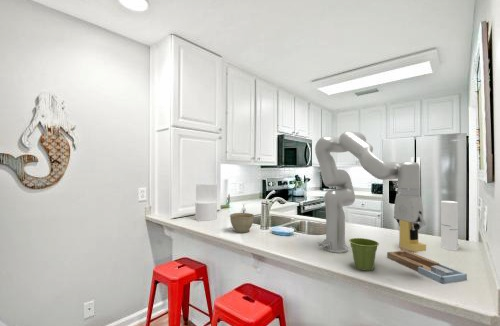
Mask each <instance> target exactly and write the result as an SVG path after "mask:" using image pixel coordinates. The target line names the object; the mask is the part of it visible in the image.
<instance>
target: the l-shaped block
mask: <svg viewBox="0 0 500 326" xmlns="http://www.w3.org/2000/svg"><path fill="white" fill-rule="evenodd" d="M414 225H415V223H414ZM410 230H412V229H411V223H410V222H407V221H403V220H400V246H401V247H404V248H407V249H409V250H412V251H414V253H416V252H417V253H418V252H419V253H420V252H426V251H427V244H426V243H422V242H420V241H419V239H418V240H411V239H410ZM400 246H399V247H400Z"/></svg>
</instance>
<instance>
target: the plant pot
mask: <svg viewBox="0 0 500 326" xmlns="http://www.w3.org/2000/svg"><path fill="white" fill-rule="evenodd" d="M348 243H350V248H351V251H352V258H353V262H354V267H355V268H356V269H358V270H361V271H363V270H364V271H367V272H368V271H369V272H370V271H372V270H373V269H374V265H375V258H376V253H377V249H378V246H379V245H380V243H379V242H378V241H376V240H374V239H370V238H362V237H352V238H349V240H348Z"/></svg>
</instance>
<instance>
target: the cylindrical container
mask: <svg viewBox="0 0 500 326" xmlns="http://www.w3.org/2000/svg"><path fill="white" fill-rule="evenodd" d="M440 248H441V249H443V250H447V251H455V252H456V251H458V250H459V202H458V201H453V200H441V201H440Z"/></svg>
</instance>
